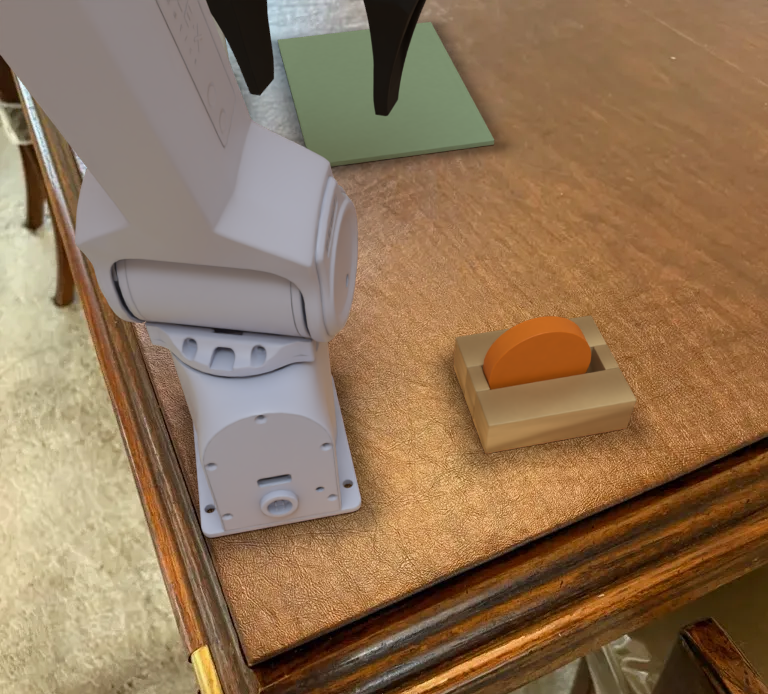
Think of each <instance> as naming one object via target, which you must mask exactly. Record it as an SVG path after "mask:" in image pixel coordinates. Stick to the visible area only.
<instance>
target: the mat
mask: <svg viewBox="0 0 768 694" xmlns="http://www.w3.org/2000/svg"><path fill="white" fill-rule="evenodd" d="M277 45H278V48H279V53H280V56H281V60H282V63H283V67H284V71H285V75H286V79H287V82H288V83H287V84H288V87H289V90H290V93H291V98H292V101H293V105H294V108H295V109H294V110H295V112H296V116H297V120H298V124H299V127H300V131H301V135H302V138H303V142H304V147H305V148H307V149H309V150H311V151H313V152H315V153H316V154H318V155H320V156H322V157H324V158H325V159H327V160H328V161H329V162H330V166H331V168H332V167H338V166H346V165H354V164H355V165H356V164H360V163H369V162H375V161H383V160H390V159H391V160H392V159H399V158H406V157H414V156H420V155H428V154H435V153H443V152H449V151H450V152H451V151H458V150H465V149H473V148H478V147H487V146H494V145H495V139H494V137H493V134H492V132H491V131H490V129H489V128H488V125H487V123H486V122H485V120H484V118H483V116H482V114H481V112H480V111H479V109H478V106H477V105H476V103H475V101H474V99H473V98H472V95H471V93H470V91H469V90H468V88H467V86H466V85H465V83H464V81H463V78H462V77H461V75H460V73H459V72H458V69H457V68H456V66H455V64H454V62H453V60H452V58H451V57H450V55H449V53H448V52H447V50H446V47H445V45H444V43H443V42H442V39H441V38H440V36H439V34H438V33H437V30H436V29H435V27H434V25H433V23H432V22H431V21H426V22H417V24H416V27H415V30H414V33H413V36H412V39H411V42H410V45H409V48H408V52H407V55H406V59H405V63H404V67H403V72H402V77H401V82H400V88H399V96H398V101H397V102H396V104H395V105H394V107H393V109H392V110H391V112H390V113H389V115H388V116H380V115H375V109H374V102H373V52H372V43H371V36H370V29H369V28H367V29H359V30H358V29H357V30H350V31H349V30H347V31H339V32H333V33H322V34H315V35H306V36H299V37H298V36H297V37H288V38H281V39H277Z"/></svg>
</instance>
